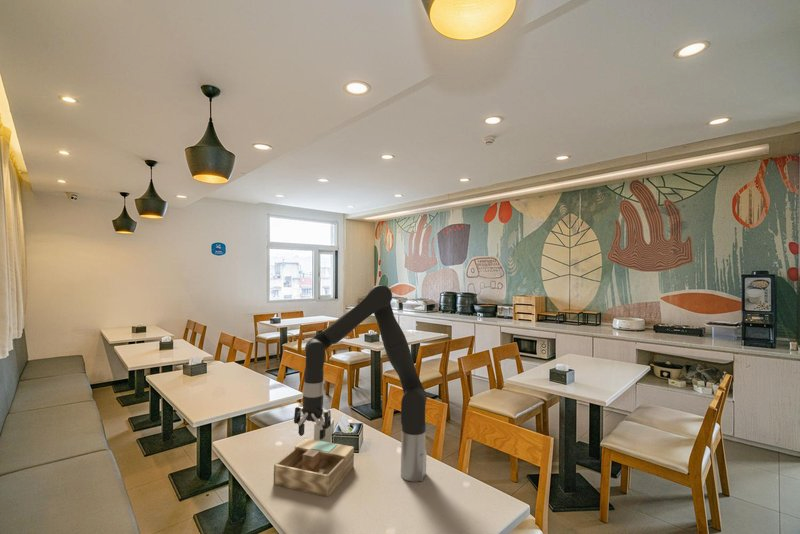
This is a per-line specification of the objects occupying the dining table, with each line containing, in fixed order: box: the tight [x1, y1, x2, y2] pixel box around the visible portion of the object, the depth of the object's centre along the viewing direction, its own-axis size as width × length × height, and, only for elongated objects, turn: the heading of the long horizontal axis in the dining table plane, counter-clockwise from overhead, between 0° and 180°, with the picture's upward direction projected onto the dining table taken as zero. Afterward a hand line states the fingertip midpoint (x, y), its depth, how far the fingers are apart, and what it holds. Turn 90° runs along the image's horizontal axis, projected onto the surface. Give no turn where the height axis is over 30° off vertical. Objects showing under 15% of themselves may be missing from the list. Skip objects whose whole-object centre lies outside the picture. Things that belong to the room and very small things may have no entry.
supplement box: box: [313, 417, 335, 443], centre depth 156 cm, size 7×7×13 cm
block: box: [302, 449, 320, 473], centre depth 133 cm, size 4×4×8 cm
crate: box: [273, 438, 355, 498], centre depth 137 cm, size 22×21×8 cm
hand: (311, 436), depth 134 cm, fingers open, 8 cm apart
